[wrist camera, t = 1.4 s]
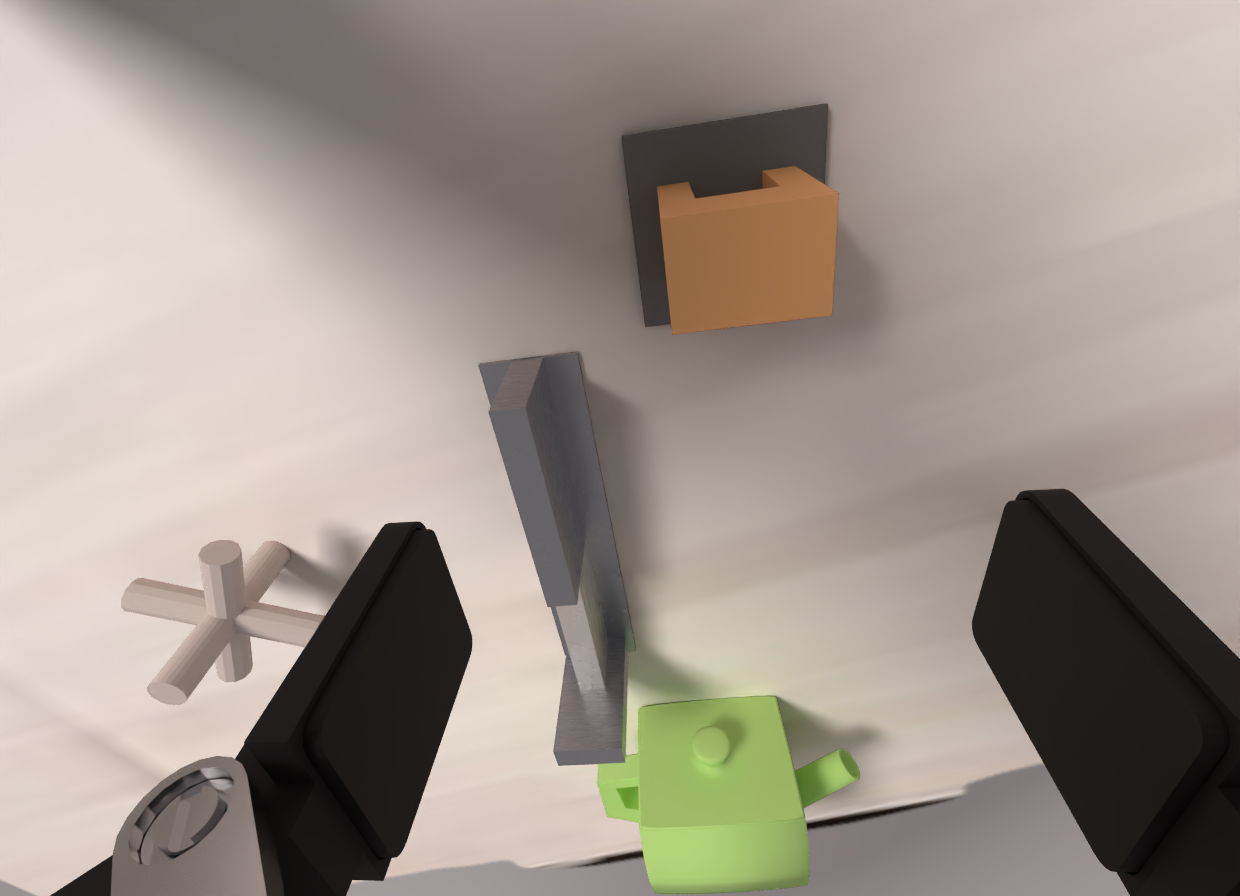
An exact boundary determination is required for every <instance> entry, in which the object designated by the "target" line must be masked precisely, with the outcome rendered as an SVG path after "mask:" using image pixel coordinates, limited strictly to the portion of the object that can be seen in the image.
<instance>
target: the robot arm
mask: <svg viewBox="0 0 1240 896" xmlns="http://www.w3.org/2000/svg"><path fill="white" fill-rule="evenodd" d="M972 630H973V635H974V638H975V641H976V643H977V645H978V647H979V649H980V650H981V652H982V654H983V656H984V658H985V659H986V661H987V663H988V665H989V666H990V668H991V670H992V672H993V674H994V675H995V677H996V679H997V681H998V682H999V684H1000V686H1001V688H1002V690H1003V691H1004V693H1005V695H1006V697H1007V699H1008V700H1009V702H1010V704H1011V706H1012V707H1013V709H1014V711H1015V713H1016V715H1017V716H1018V718H1019V720H1020V722H1021V723H1022V725H1023V727H1024V729H1025V731H1026V732H1027V734H1028V736H1029V738H1030V740H1031V741H1032V743H1033V745H1034V747H1035V748H1036V750H1037V752H1038V754H1039V756H1040V757H1041V759H1042V761H1043V763H1044V764H1045V766H1046V768H1047V770H1048V771H1049V773H1050V775H1051V777H1052V779H1053V781H1054V782H1055V784H1056V786H1057V787H1058V789H1059V791H1060V793H1061V795H1062V797H1063V798H1064V800H1065V802H1066V804H1067V805H1068V807H1069V809H1070V811H1071V813H1072V814H1073V816H1074V818H1075V820H1076V822H1077V823H1078V825H1079V827H1080V829H1081V830H1082V832H1083V834H1084V835H1085V837H1086V839H1087V841H1088V843H1089V845H1090V846H1091V848H1092V850H1093V852H1094V853H1095V855H1096V857H1097V858H1098V860H1099V861H1100V862H1101V863H1102V864H1103V866H1104V867H1105V868H1107V869H1108V870H1110V871H1114V872H1117V874H1118V875H1119V877H1120V879H1121V881H1122V882H1123V884H1124V886H1125V887H1126V889H1127V891H1128V893H1129V894H1130V896H1240V659H1239V658H1238V657H1237V656H1236V655H1235V654H1234V653H1233V652H1232V651H1231V650H1230V649H1229V648H1228V647H1227V646H1226V645H1225V644H1224V643H1223V642H1222V641H1221V640H1220V639H1219V638H1218V637H1217V636H1216V635H1215V634H1214V633H1213V632H1212V631H1211V630H1210V629H1209V628H1208V627H1207V626H1206V625H1205V624H1204V623H1203V622H1202V621H1201V620H1200V619H1199V618H1198V617H1197V616H1196V615H1195V614H1194V613H1193V612H1192V611H1191V610H1190V609H1189V608H1188V607H1187V606H1186V605H1185V604H1184V603H1183V602H1182V601H1181V600H1180V599H1179V598H1178V597H1177V596H1176V595H1175V594H1174V593H1173V592H1172V591H1171V590H1170V589H1169V588H1168V587H1167V586H1166V585H1165V584H1164V583H1163V582H1162V581H1161V580H1160V579H1159V578H1158V577H1157V576H1156V575H1155V574H1154V573H1153V572H1152V571H1151V570H1150V569H1149V568H1148V567H1147V566H1146V565H1145V564H1144V563H1143V562H1142V561H1141V560H1140V559H1139V558H1138V557H1137V556H1136V555H1135V554H1134V553H1133V552H1132V551H1131V550H1130V549H1129V548H1128V547H1127V546H1126V545H1125V544H1124V543H1123V542H1122V541H1121V540H1120V539H1119V538H1118V537H1117V536H1116V535H1115V534H1114V533H1113V532H1112V531H1111V530H1110V529H1109V528H1108V527H1107V526H1106V525H1105V524H1103V523H1102V522H1101V521H1100V520H1099V519H1098V518H1097V517H1096V516H1095V515H1094V514H1093V513H1092V512H1091V511H1090V510H1089V509H1088V508H1087V507H1086V506H1085V505H1084V504H1083V503H1082V502H1081V501H1080V500H1079V499H1078V498H1077V497H1076V496H1075V495H1074V494H1073V493H1072V492H1070V491H1069V490H1066V489H1048V490H1028V491H1023V492H1020V493H1019V494H1018V495H1017V497H1016V499H1015V501H1009V502H1008V503H1007V504H1006V505H1005V508H1004V511H1003V514H1002V518H1001V521H1000V525H999V528H998V532H997V535H996V539H995V542H994V546H993V549H992V553H991V556H990V560H989V563H988V567H987V570H986V574H985V577H984V581H983V584H982V588H981V591H980V595H979V598H978V602H977V605H976V609H975V612H974V616H973V620H972ZM471 651H472V635H471V631H470V628H469V626H468V623H467V620H466V617H465V615H464V612H463V609H462V606H461V603H460V601H459V598H458V595H457V592H456V590H455V587H454V584H453V581H452V578H451V576H450V573H449V570H448V567H447V565H446V562H445V559H444V556H443V554H442V551H441V548H440V545H439V542H438V540H437V537H436V535H435V533H434V531H433V530H430V529H426V528H425V526H424V525H423V524H422V523H421V522H400V523H388V524H385V525H384V526H383V528H382V529H381V530H380V532H379V533H378V535H377V536H376V538H375V540H374V541H373V543H372V544H371V546H370V547H369V549H368V550H367V552H366V554H365V555H364V557H363V558H362V560H361V561H360V563H359V564H358V566H357V567H356V569H355V571H354V572H353V574H352V575H351V577H350V578H349V580H348V581H347V583H346V585H345V586H344V588H343V589H342V591H341V592H340V594H339V595H338V597H337V599H336V600H335V602H334V603H333V605H332V606H331V608H330V609H329V611H328V613H327V614H326V616H325V617H324V619H323V620H322V622H321V623H320V625H319V627H318V628H317V630H316V631H315V633H314V634H313V636H312V637H311V639H310V641H309V642H308V644H307V645H306V647H305V648H304V650H303V651H302V653H301V655H300V656H299V658H298V659H297V661H296V662H295V664H294V665H293V667H292V669H291V670H290V672H289V673H288V675H287V676H286V678H285V679H284V681H283V682H282V684H281V686H280V687H279V689H278V690H277V692H276V693H275V695H274V696H273V698H272V700H271V701H270V703H269V704H268V706H267V707H266V709H265V710H264V712H263V714H262V715H261V717H260V718H259V720H258V721H257V723H256V724H255V726H254V728H253V729H252V731H251V732H250V734H249V735H248V737H247V738H246V740H245V742H244V743H245V744H244V746H243V747H242V749H241V751H240V752H239V754H238V755H237V757H236V758H235V759H233V758H232V757H222V756H215V757H211V758H206V759H201V760H198V761H196V762H194V763H192V764H189V765H187V766H185V767H183V768H181V769H179V770H178V771H176V772H175V773H173V774H172V775H170V776H169V777H167V778H166V779H164V780H163V781H161V782H160V783H159V784H158V785H157V786H156V787H154V788H153V789H152V790H151V791H150V792H149V793H148V794H147V795H146V796H145V797H143V798H142V800H141V801H140V802H139V803H138V805H137V806H136V807H135V808H134V810H133V811H132V812H131V813H130V814H129V816H128V817H127V819H126V821H125V823H124V824H123V826H122V828H121V830H120V832H119V834H118V836H117V839H116V843H115V847H114V851H113V855H112V856H111V857H109V858H107V859H106V860H104V861H103V862H101V863H100V864H98V865H97V866H95V867H94V868H92V869H91V870H89V871H87V872H86V873H84V874H83V875H81V876H80V877H78V878H77V879H75V880H74V881H72V882H71V883H69V884H67V885H66V886H64V887H63V888H61V889H60V890H58V891H57V892H55V893H54V894H52V895H50V896H346V894H347V891H348V889H349V887H350V884H351V882H352V880H375V881H383V880H384V878H385V875H386V872H387V869H388V867H389V864H390V861H391V858H394V857H398V856H399V855H400V854H401V852H402V851H403V849H404V847H405V844H406V842H407V839H408V836H409V833H410V830H411V827H412V824H413V821H414V818H415V816H416V813H417V810H418V807H419V804H420V801H421V798H422V795H423V792H424V789H425V786H426V783H427V781H428V778H429V775H430V772H431V769H432V766H433V763H434V760H435V757H436V754H437V751H438V748H439V746H440V743H441V740H442V737H443V734H444V731H445V728H446V725H447V722H448V719H449V716H450V713H451V711H452V708H453V705H454V702H455V699H456V696H457V693H458V690H459V687H460V684H461V681H462V679H463V676H464V673H465V670H466V667H467V664H468V661H469V658H470V655H471Z"/></svg>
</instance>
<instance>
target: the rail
mask: <svg viewBox="0 0 1240 896" xmlns="http://www.w3.org/2000/svg"><path fill="white" fill-rule="evenodd" d="M479 369H480V372H481V375H482V379H483V382H484V385H485V389H486V392H487V395H488V399H489V402H490V405H491V407H490V409H489V415H490V419H491V422H492V425H493V429H494V432H495V435H496V438H497V442H498V445H499V448H500V452H501V455H502V458H503V461H504V465H505V468H506V471H507V475H508V478H509V481H510V485H511V488H512V491H513V494H514V498H515V501H516V504H517V508H518V511H519V514H520V518H521V521H522V524H523V527H524V531H525V534H526V537H527V541H528V544H529V547H530V550H531V554H532V557H533V560H534V564H535V567H536V570H537V574H538V577H539V580H540V583H541V587H542V590H543V593H544V597H545V600H546V603H547V606H548V607H551V609H552V613H553V616H554V619H555V623H556V626H557V629H558V633H559V636H560V639H561V643H562V646H563V649H564V653H565V655H566V661H565V668H564V676H563V683H562V691H561V698H560V706H559V713H558V721H557V728H556V736H555V743H554V751H553V752H554V755H555V757H556V760H557V763H558V766H562V765H585V764H608V763H625V760H626V723H627V686H628V651H636V648H635V643H634V638H633V633H632V628H631V622H630V617H629V612H628V607H627V602H626V597H625V592H624V587H623V582H622V577H621V572H620V567H619V562H618V556H617V551H616V546H615V541H614V536H613V531H612V526H611V521H610V516H609V511H608V506H607V501H606V495H605V490H604V485H603V480H602V475H601V470H600V465H599V460H598V455H597V450H596V445H595V440H594V435H593V429H592V424H591V419H590V414H589V409H588V404H587V399H586V394H585V389H584V384H583V379H582V374H581V368H580V363H579V358H578V353H577V352H571V353H563V354H555V355H547V356H538V357H530V358H522V359H513V360H505V361H497V362H488V363H480V364H479Z"/></svg>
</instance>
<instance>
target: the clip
mask: <svg viewBox="0 0 1240 896" xmlns="http://www.w3.org/2000/svg"><path fill="white" fill-rule="evenodd" d="M762 185H763V189H758V190H751V191H744V192H738V193H731V194H724V195H717V196H710V197H703V198H696V199H695V197H694V195H693V192H692V190H691V187H690V185H689V182H684V183H677V184H670V185H664V186H657V192H658V202H659V212H660V222H661V232H662V241H663V251H664V261H665V271H666V281H667V291H668V300H669V309H670V319H671V328H672V335H674V334H682V333H691V332H699V331H707V330H715V329H724V328H732V327H740V326H748V325H756V324H765V323H773V322H781V321H789V320H798V319H806V318H814V317H822V316H831V315H832V308H833V290H834V272H835V254H836V235H837V217H838V199H839V193H838V192H836V191H834V190H833V189H831V188H830V187H828V186H826V185H825V184H823V183H822V182H820V181H818V180H817V179H815V178H814V177H812V176H810V175H809V174H807V173H806V172H804V171H802V170H801V169H799V168H798V167H796V166H791V167H784V168H778V169H771V170H764V171H762Z"/></svg>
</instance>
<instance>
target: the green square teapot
mask: <svg viewBox="0 0 1240 896" xmlns="http://www.w3.org/2000/svg"><path fill="white" fill-rule="evenodd" d="M859 778H860V772H859V769H858V766H857V764H856V762H855V761H854V759H853V758H852V756H851V755H850V754H849V753H848V752H847V751H846V750H845V749H843V748H840V749H838V750H836V751H834V752H832V753H830V754H828V755H826V756H824V757H822V758H820V759H818V760H816V761H814V762H812V763H810V764H808V765H806V766H804V767H802V768H800V769H798V770H796V771H795V770H794V766H793V762H792V758H791V754H790V750H789V746H788V741H787V737H786V733H785V729H784V725H783V721H782V717H781V713H780V709H779V705H778V702H777V698H776V697H775V696H755V697H738V698H723V699H710V700H698V701H688V702H678V703H669V704H660V705H652V706H646V707H641V708H639V711H638V754H632V755H626V760H625V763H608V764H598V778H597V785H598V788H599V792H600V795H601V798H602V801H603V804H604V808H605V811H606V814H607V817H610V818H616V819H622V820H627V821H633V822H639V830H640V837H641V843H642V849H643V855H644V860H645V864H646V869H647V873H648V877H649V881H650V883H651V886H652V888H653V890H654V892H655V893H660V894H703V893H733V892H748V891H760V890H772V889H783V888H793V887H800V886H805V885H807V884H808V881H809V876H810V863H809V847H808V837H807V827H806V820H805V814H804V809H803V808H805V807H806V806H808V805H810V804H812V803H814V802H816V801H818V800H820V799H822V798H824V797H826V796H827V795H829V794H831V793H833V792H835V791H837V790H839V789H841V788H843V787H845V786H847V785H849V784H851V783H853V782H855V781H857V780H858V779H859Z"/></svg>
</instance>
